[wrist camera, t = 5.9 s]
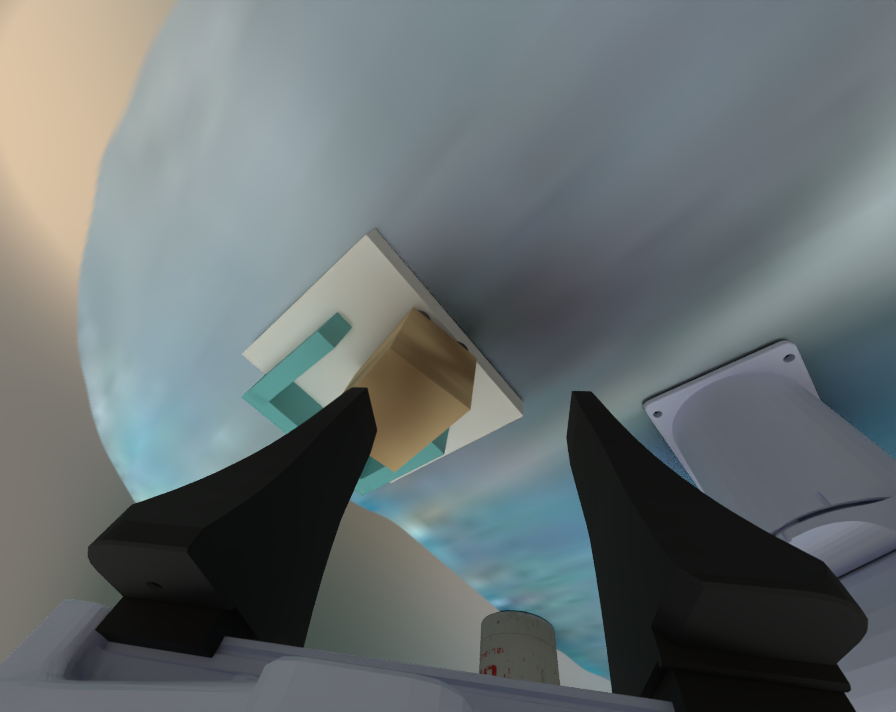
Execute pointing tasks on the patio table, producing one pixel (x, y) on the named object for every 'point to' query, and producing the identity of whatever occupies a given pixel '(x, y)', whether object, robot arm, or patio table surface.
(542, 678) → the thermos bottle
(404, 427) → the cardboard box
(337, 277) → the dock
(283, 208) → the patio table surface
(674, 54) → the patio table surface
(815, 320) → the patio table surface
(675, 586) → the robot arm
